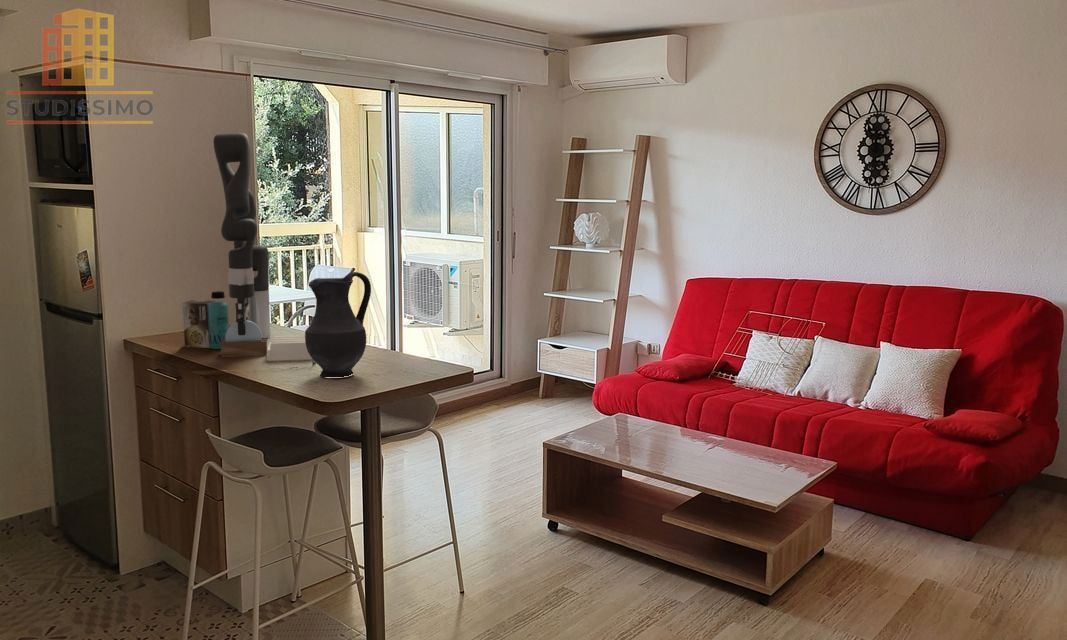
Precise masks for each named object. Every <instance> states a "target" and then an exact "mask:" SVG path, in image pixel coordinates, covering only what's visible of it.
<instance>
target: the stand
mask: <svg viewBox="0 0 1067 640" xmlns="http://www.w3.org/2000/svg"><path fill="white" fill-rule="evenodd" d="M267 349H268V338H263V339H262V341H241V342H226V340H222V342H221V349H220V357H221V358H225V357H229V358H230V357H257V356H258V357H259V356H261V357H263V356H267Z"/></svg>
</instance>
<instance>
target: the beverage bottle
mask: <svg viewBox="0 0 1067 640" xmlns="http://www.w3.org/2000/svg"><path fill="white" fill-rule="evenodd" d="M225 297H226V295H225V292H224V291H222V290H221V291H218V290H217V291H212V292H211V298H210V299H214V300H213V301H214V302H211V303H210V304H209V305H208V308H209V340H210V343H209V344H210V345H209V346H210V348H209V349H215V350H216V349H217V350H218V349H219V350H221V342H222V340H226V339H225V336H226V332H227V330H228V328H229V327H230V319H229V318H230V317H229V304H228V303H227V302H226V301H224V300H223V301H222V300H220V299H225ZM215 299H217V300H215Z"/></svg>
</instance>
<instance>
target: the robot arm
mask: <svg viewBox="0 0 1067 640" xmlns="http://www.w3.org/2000/svg"><path fill="white" fill-rule="evenodd" d="M213 149H214V154H215V158H216V162H217V166H218V169H219V173H220V177H221V181H222V187H223V193H224V199H225V213H224V218H223V221H222V224H221V227H220V228H221V229H220V231H221V232H220V234H221V237H222V238H223V239H224V240H225V241H227V242H233V247H234V248H233V249H231V250H229V251H228V275H227V276H228V296H229V298H231V299H236V301H237V302H235V303H234V308H235V322H237V323H238V335H245V334H246V329H245V322H246V320H249V321H252V322H254V323H255V324H256V325H257V326H258V327H259V328H260V330H261V332H262V338H263V339H268V338H271V316H270V315H271V314H270V313H271V311H270V290H269V289H270V287H269V286H270V285H269V283H270V278H269V276H270V274H269V273H270V271H269V270H270V253H269V250H268V248H267V246H266V245H262V244H261V245H260V244H259V245H257V244H256V245H255V240H256V236H257V233H258V225H257V223H256V222H255V219H256V215H257V207H256V203H255V198H254V194H253V193H252V191H251V189H249V184H250V176H251V175H250V174H251V173H250V172H251V161H252V160H251V158H252V155H251V154H252V149H251V144H250V139H249V137H248V134H246V133H243V132H242V133H241V132H239V133H237V132H235V133H234V132H233V133H222V134H221V133H219V134H215V136H214V137H213ZM230 163H239V165H238V168H237V170H236V171H235V172H234V171H233V168H232V167H231V165H230ZM254 272H257V275H256V276H254Z"/></svg>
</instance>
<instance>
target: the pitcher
mask: <svg viewBox="0 0 1067 640" xmlns="http://www.w3.org/2000/svg"><path fill="white" fill-rule="evenodd" d="M354 277H358V279H360V280H361V281H362V283H363V287H364V289H363V291H364V292H363V297H362V300H361V302H360V305H359V308H358V311H357V314H356V315H355V314H354V311H353V309H352V306H351V303H350V301H349V300H350V299H349V293H350V290H351V286H352V284H353V282H354V280H353V278H354ZM308 286H309V288H310V290H311V291H312V292H313V294H314V296H315V299H316V303H315V304H316V305H315V313H314V316H313V319H312V321H311V323H310V324H309V326H308V327H306V329H305V332H304V336H305V343H306V348H307V351H308V353H309V355H310V356H311V358H312V359H311V360H312V361H313V360H314V361H315V362H316V363H315V364H317V365H318V366H319V367H320V368H321V370H322V371H321V372H320V374H319V377H321V378H322V377H344V376H349V375H351V374H353V373H354V371H353V369H354V367H356V365H357V364H358V363H359V362H360V360H361V359H362V358H363V355H364V353H365V350H366V346H367V333H366V329H365V326H364V320H365V315H366V313H367V309H368V306H369V302H370V299H371V294H372V285H371V281H370V279H369V277H367V275H365V274H363V273H361V272H359V271H354V272H353V271H352V272H350V273H348V274H346V275H345V276H344V277H333V278H332V277H329V278H328V277H326V278H325V277H324V278H323V277H322V278H321V277H316V278H314V279H312V280H311V281H309V282H308Z"/></svg>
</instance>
